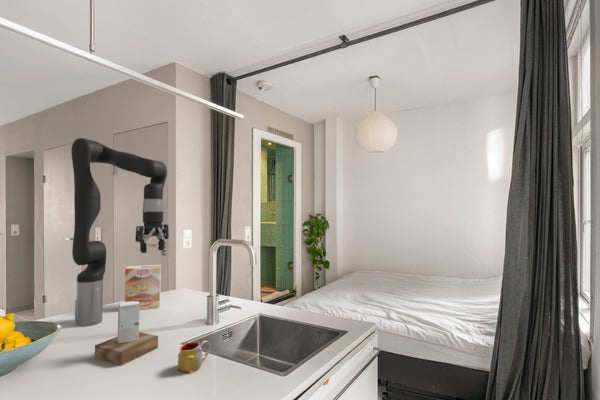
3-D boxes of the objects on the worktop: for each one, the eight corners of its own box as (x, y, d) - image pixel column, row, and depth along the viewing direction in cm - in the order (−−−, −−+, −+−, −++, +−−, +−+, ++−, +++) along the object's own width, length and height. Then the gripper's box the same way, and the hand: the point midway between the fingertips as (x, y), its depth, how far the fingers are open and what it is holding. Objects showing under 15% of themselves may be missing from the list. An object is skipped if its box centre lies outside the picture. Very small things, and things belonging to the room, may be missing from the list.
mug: (188, 376, 96) (189, 352, 97) (172, 369, 100) (173, 347, 100) (218, 360, 107) (219, 338, 107) (203, 354, 110) (203, 334, 110)
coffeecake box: (124, 311, 154) (124, 268, 155) (126, 307, 161) (126, 265, 161) (159, 308, 160) (160, 266, 160) (160, 304, 166) (160, 264, 167)
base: (94, 358, 107) (94, 345, 107) (132, 341, 120) (132, 330, 120) (121, 365, 102) (121, 352, 102) (157, 347, 115) (158, 335, 115)
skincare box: (118, 344, 108) (119, 306, 108) (116, 339, 112) (117, 302, 112) (139, 340, 111) (140, 303, 112) (137, 336, 115) (138, 300, 115)
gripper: (160, 210, 143) (159, 248, 142) (131, 210, 130) (130, 253, 129) (173, 210, 140) (173, 250, 139) (145, 210, 127) (144, 254, 126)
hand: (152, 251), depth 134 cm, fingers open, 8 cm apart
